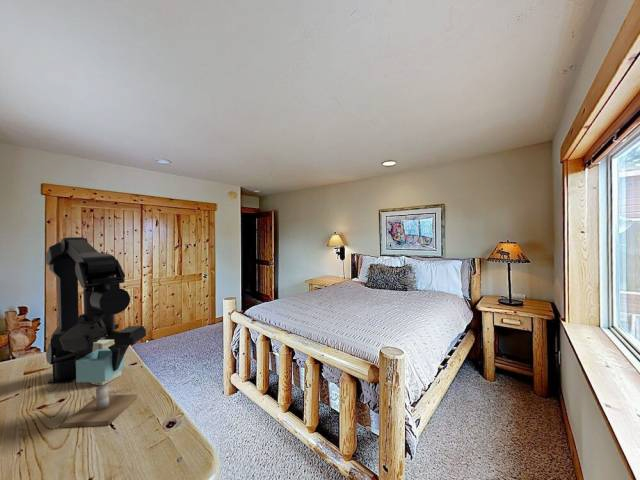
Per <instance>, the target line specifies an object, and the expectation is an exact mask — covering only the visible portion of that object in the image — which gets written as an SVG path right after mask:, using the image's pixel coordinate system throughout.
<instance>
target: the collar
mask: <svg viewBox="0 0 640 480" xmlns="http://www.w3.org/2000/svg"><path fill="white" fill-rule="evenodd" d="M123 369H125V356H124V357H123V359H122V361H121V363H120V366H119V368H118V369H117V370H116V371H113V366H112V351H111V350H110V349H97V350H95V351H94V352H92V353H90V354H88V355H86V356H84V357H83V358H81V359H79V360H77V361H76V379H75V380H76V382H75V383H91V382H105V381H107V380H108V379H109V378H111V377H112V376H113V375H115V374H116V373H117V372H119V371H120V370H123Z"/></svg>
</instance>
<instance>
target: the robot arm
mask: <svg viewBox="0 0 640 480" xmlns="http://www.w3.org/2000/svg"><path fill="white" fill-rule="evenodd" d="M45 262H46V265H47V266H48V268H49V270H50V272H51V273H52V274H53V275H54V276H55V277H56V281H57V282H56V283H57V320H58V321H57V324H58V325H57V327H56V329H55V330H54V331H53V332H52V334H51V335H50V340H49V341H50V343H48V346H47V348H46V352H45V357H46V362H47V363H48V364H49V365H50V366H51V365H52V378H51V379H49V380H47V383H48V384H58V383H59V384H60V383H71V382H72V381H74V380H76V361H77V360H79V359H81V358H83V357H84V356H86V355H88V354H90V353H92V351H93V342H97V341H98V340H113V339H114V343H115V344H113V345H111V346H110V347H108V348H109V349H110V350H111V351H112V366H113V371H116V370H117V369H118V368H119V366H120V363H121V361H122V359H123V357H124V358H125V354H126V353H127V350H128V348H129V347H130V346H131V345H134V344H136V343H137V342H139V341H140V340H142V339H143V338H145V337H146V336H147V329H146V328H145V327H144V325H129V326H127V327H124V328H123V329H121V330H117V329H119V328H120V327H119V326H120V325H119V323H115V322H116V320H115V319H116V318H115V315H118V314H120V313H123V311H125V310H126V309H127V308H129V305H130V303H131V296H130V294H129V292H128V291H127V290H126V289H123V288H121V285H120V284H124V283H125V282H126V281H125V277H126V275H125V272H124V270H123V268H122V265H121V264H120V262H119V260H118V259H117V258H116V257H115V255H113V254H110V253H107V252H99V251H98V250H97V249H96V248H95V247H93V246H92V245H91V244H90V243H89V242H88V239H87V237H82V236H78V237H77V236H70V237H67V236H65V237H64V238H61V239H60V241H59V242H58V243H56V244H53V245H51V246H49V247H48V250H47V252H46V254H45ZM79 285H80V287H81V288H83V289H82V299H83V300H82V301H83V313H82V314H79V313H80V312H79Z"/></svg>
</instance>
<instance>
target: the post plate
mask: <svg viewBox="0 0 640 480" xmlns="http://www.w3.org/2000/svg"><path fill="white" fill-rule="evenodd" d="M109 391H110V390H109V384H104V385H98V386H97V387H96V388H95V398H93V399H92V400H90V402H88V403H87V404H85V405H84V406H83V407H82V408H80V409H79V410H78V411H76V412H75V413H74V414H72V415H71V416H70V417H69V418H67V419H66V420H64V421H63V422H62V428H74V427H75V428H76V427H98V426H99V427H100V426H110V425H111V424H112V423H113V422H114V421H115V420H116V419H117V418H118V417H119V416H120V415H122V414H123V412H124V411H126V409H128V408H129V406H130V405H132V404H133V402H135V401H136V400H137V399H138V394H136V393H135V394H110V392H109Z"/></svg>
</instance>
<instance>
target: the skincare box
mask: <svg viewBox="0 0 640 480" xmlns="http://www.w3.org/2000/svg"><path fill="white" fill-rule="evenodd" d="M113 344H115V343H114V339H113V340H98V341H97V342H93V351H92V352H94V351H95V350H97V349H109V348H108V347H110V346H111V345H113ZM122 370H123V369H122ZM122 370H120V371H119V372H117V373H116V374H115V375H113V376H112V377H111V378H109V379H108V380H107V381H105V382H90V384H91V385H95V386H96V385H97V386H101V385H107V383H110V382H111V381H113V380H115V379H117V378H119V377H121V376H122V375H123V371H122Z"/></svg>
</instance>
